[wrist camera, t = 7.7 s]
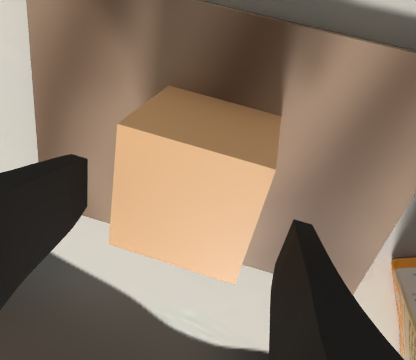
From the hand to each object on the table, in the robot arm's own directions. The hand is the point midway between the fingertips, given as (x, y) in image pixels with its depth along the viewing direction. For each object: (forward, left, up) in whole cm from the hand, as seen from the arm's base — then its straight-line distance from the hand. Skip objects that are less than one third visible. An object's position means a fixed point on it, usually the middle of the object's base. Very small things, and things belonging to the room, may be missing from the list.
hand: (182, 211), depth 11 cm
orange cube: (0, 0, -5) cm, 5 cm away
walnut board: (0, 0, -6) cm, 6 cm away
